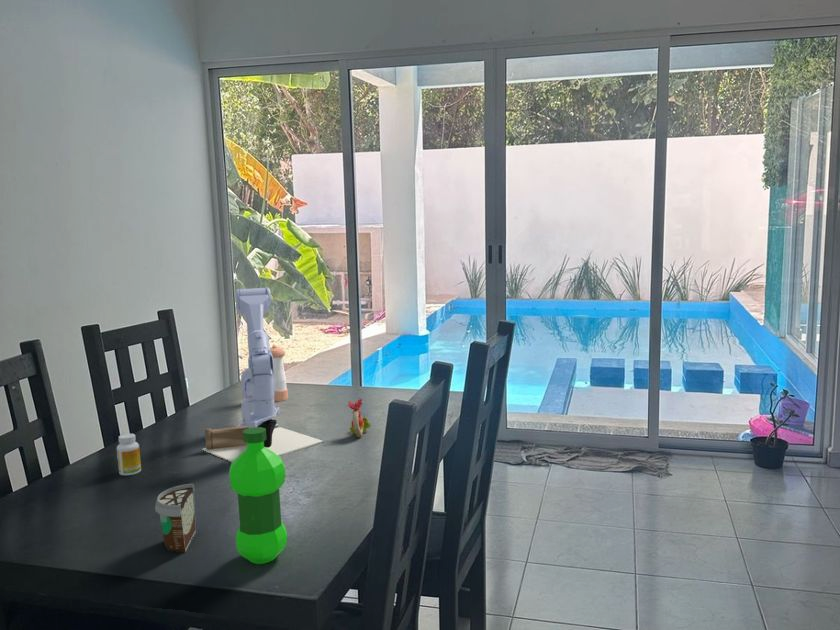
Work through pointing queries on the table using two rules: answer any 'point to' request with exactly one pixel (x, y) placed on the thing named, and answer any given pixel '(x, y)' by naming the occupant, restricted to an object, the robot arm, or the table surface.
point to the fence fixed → (224, 437)
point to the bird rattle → (358, 419)
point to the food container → (177, 516)
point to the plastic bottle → (258, 499)
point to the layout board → (281, 444)
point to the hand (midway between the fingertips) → (266, 446)
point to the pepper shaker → (279, 374)
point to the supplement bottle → (128, 455)
